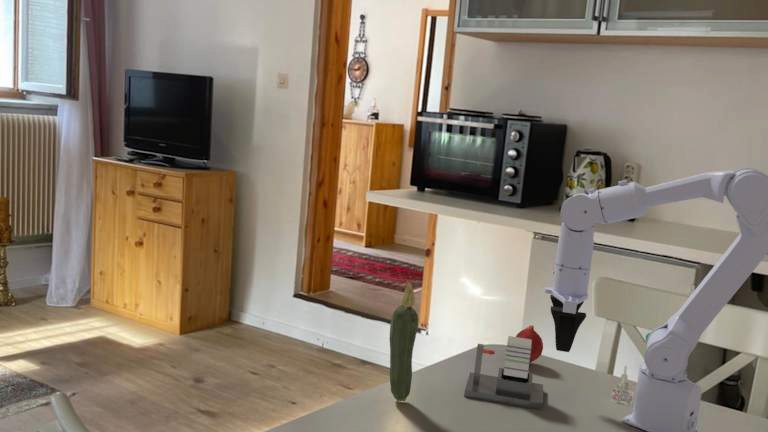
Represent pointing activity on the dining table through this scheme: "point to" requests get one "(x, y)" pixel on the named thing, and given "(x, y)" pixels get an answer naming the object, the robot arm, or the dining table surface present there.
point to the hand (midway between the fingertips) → (562, 343)
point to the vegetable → (402, 345)
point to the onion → (536, 342)
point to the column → (517, 357)
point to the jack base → (503, 386)
